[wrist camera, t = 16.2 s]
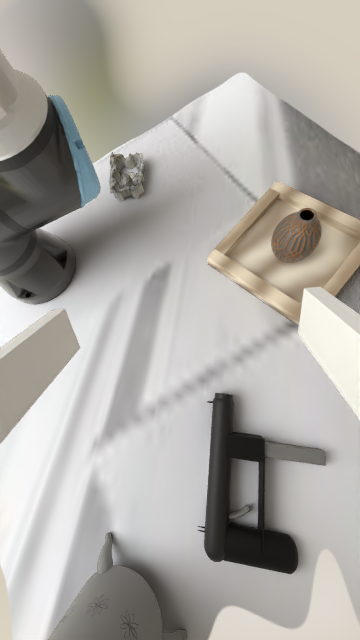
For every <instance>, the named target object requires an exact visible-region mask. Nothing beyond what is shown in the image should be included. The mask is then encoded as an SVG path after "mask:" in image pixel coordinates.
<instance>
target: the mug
mask: <svg viewBox="0 0 360 640" xmlns="http://www.w3.org/2000/svg"><path fill="white" fill-rule="evenodd" d="M48 640H187V633H186V631H185V630H181V629H179V630H176V631H174V632H172V633H164V632H163V626H162V617H161V612H160V608H159V605H158V602H157V599H156V597H155V595H154V593H153V591H152V589H151V587H150V586H149V584H148V583H147V582H146V581H145V579H144V578H143V577H142V576H140V575H139V574H138V573H137V572H135V571H134V570H132V569H130V568H127V567H124V566H113V560H112V537H111V534H110V533H107V534H106V536H105V544H104V546H103V548H102V550H101V552H100V555H99V559H98V564H97V572H96V573H95V574H94V575H93V576H92V577H91V578H90V579H89V580H88V581H87V582H86V584H85V585H84V587H83V588H82V590H81V591H80V593H79V594H78V596H77V597H76V599H75V600H74V602H73V603H72V605H71V606H70V608H69V609H68V611H67V612H66V613H65V615H64V616H63V618H62V619H61V621H60V622H59V624H58V625H57V627H56V628H55V630H54V631H53V633H52V634H51V636H50V637H49V639H48Z"/></svg>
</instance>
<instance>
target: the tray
mask: <svg viewBox="0 0 360 640" xmlns="http://www.w3.org/2000/svg"><path fill="white" fill-rule="evenodd" d="M303 208H311V209H313V210H315V212H316V214H317V218H318V220H319V221H320V224H321V227H322V234H321V239H320V242H319V244H318V246H317V247H316V249H315V250H314V251H313V252H312V253H311V254H310V255H309V256H308V257H307V258H305V259H303V260H301V261H298V262H294V263H288V262H284V261H281V260H280V259H278V258H277V257H276V256H275V255H274V253H273V251H272V247H271V239H272V235H273V232H274V230H275V228H276V226H277V225H278V224H279V222H280V221H281V220H282V219H284V218H285V217H286V216H288V215H290V214H292V213H295V212H298V211H300V210H301V209H303ZM208 265H210V266H211V267H213V268H214V269H216V270H217V271H219V272H220V273H222V274H223V275H224V276H226V277H227V278H229V279H230V280H232V281H233V282H235V283H236V284H238V285H239V286H241V287H242V288H244V289H245V290H246V291H248V292H249V293H251V294H252V295H254V296H255V297H257V298H258V299H260V300H261V301H263V302H264V303H265V304H267V305H268V306H270V307H271V308H273V309H274V310H276V311H277V312H279V313H280V314H282V315H283V316H285V317H286V318H287V319H289V320H290V321H292V322H293V323H295V324H296V325H298V326H299V322H300V314H301V307H302V299H303V292H304V288H311V287H321V288H323V289H324V290H326V291H327V292H328V293H330V294H331V295H333V296H334V297H335V296H336V294H337V293H338V292H339V291H340V289H341V288H342V287H343V286H344V284H345V283H346V282H347V281H348V279H349V278H350V277H351V276H352V274H353V273H354V272H355V271H356V269H357V268H358V267H359V266H360V220H358V219H356V218H354V217H352V216H350V215H347V214H345V213H343V212H341V211H339V210H337V209H335V208H333V207H331V206H329V205H326V204H324V203H322V202H320V201H318V200H316V199H314V198H312V197H310V196H308V195H305V194H303V193H301V192H299V191H297V190H295V189H293V188H291V187H289V186H287V185H284V184H282V183H280V182H278V181H276V182H275V183H274V184H273V185H272V186H271V187H270V189H269V190H268V191H267V192H266V193H265V194H264V195H263V196H262V197H261V198H260V200H259V201H258V202H257V203H256V204H255V205H254V206H253V207H252V208H251V209H250V211H249V212H248V213H247V214H246V215H245V216H244V217H243V218H242V219H241V220H240V222H239V223H238V224H237V225H236V226H235V227H234V228H233V229H232V230H231V231H230V233H229V234H228V235H227V236H226V237H225V238H224V239H223V240H222V241H221V242H220V244H219V245H218V246H217V247H216V248H215V249H214V250H213V251H212V252H211V253H210V255H209V256H208Z"/></svg>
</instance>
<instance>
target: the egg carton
mask: <svg viewBox="0 0 360 640" xmlns="http://www.w3.org/2000/svg"><path fill="white" fill-rule="evenodd" d="M136 164H137V166H136V167H137V170H138V173H136V175H135V174H134V173H132V172H130V173H128V174H124V173H122V175H121V176H120V173H119V171H120V170H121V169H122V167H127V169H133V168H134V167H135V165H136ZM110 166H111V169H110V180H109V182H110V189H111V191H110V193H114V194H115V197H116V198H119V200H120V201H124V200H125V198H126V197H127V196H133V197H134V199H136V198H139V196H140V195H141V194H143V193H144V189H143V186H142V182H144V176H143V173H142V171H143V170H145V166H144V164H143V154H142V153H140V154H139V153H136V154H135V155H131V154H129V157H127V158H124V156H123V155H122V154H113V152H112V153H111V157H110ZM134 177H135V179H136V180H137V183H138V185H136V186H134V183H133V181H132V179H133V178H134ZM120 180H121V182H122V184H123V188H121V189H120V186H119V184H118V182H119V181H120Z"/></svg>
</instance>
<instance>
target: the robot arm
mask: <svg viewBox="0 0 360 640" xmlns="http://www.w3.org/2000/svg"><path fill="white" fill-rule="evenodd" d="M99 193H100V183H99V180H98V177H97V174H96V172H95V169H94V167H93V164H92V162H91V160H90V157H89V155H88V153H87V151H86V148H85V146H84V145H83V142H82V139H81V137H80V135H79V132H78V130H77V127H76V125H75V123H74V121H73V119H72V116H71V114H70V112H69V110H68V108H67V106H66V105H65V102H64V101H63V99H62V98H61V97H60V96H58V95H56V96H51V95H50V96H49V97H47V96H46V94H45V92H44V91H43V89H42V87H41V86H40V85H39V83H38V82H37V81H36V80H35V79H34V78H33V77H31V76H29V75H27V74H25V73H23V72H20V71H17V70H14V69H13V68H12V66H11V65H10V64H9V62H8V61H7V59H6V57H5V56H4V54H3V53H2V51H1V50H0V286H1V287H2V288H3V289H4V290H5V291H6V292H7V293H8V294H9V295H11V296H12V297H14V298H16V299H18V300H20V301H23V302H25V303H29V304H40V303H44V302H47V301H49V300H51V299H53V298H55V297H56V296H58V295H59V294H60V293H61V292H62V291H63V290H64V289H65V288H66V287H67V285H68V284H69V283H70V281H71V279H72V277H73V274H74V271H75V265H76V261H75V256H74V253H73V251H72V249H71V248H70V247H69V246H68V245H67V244H66V243H65V242H64V241H63V240H62V239H60V238H59V237H57V236H55V235H52V234H50V233H48V232H46V231H44V230H41V229H39V228H40V227H42V226H44V225H46V224H48V223H50V222H52V221H54V220H56V219H58V218H60V217H62V216H64V215H66V214H68V213H70V212H73V211H75V210H77V209H79V208H82V207H84V205H85V204H86V203H88V202H90V201H91V200H93V199H95V198H96V197H97V196H98V194H99ZM298 336H299V337H300V338H301V340H302V341H303V342H304V344H305V345H306V347H307V348H308V349H309V351H310V352H311V353H312V355H313V356H314V358H315V359H316V360H317V362H318V363H319V364H320V366H321V367H322V369H323V370H324V371H325V373H326V374H327V376H328V377H329V378H330V380H331V381H332V382H333V384H334V385H335V387H336V388H337V389H338V391H339V392H340V393H341V395H342V396H343V398H344V399H345V400H346V402H347V403H348V404H349V406H350V407H351V409H352V410H353V411H354V413H355V414H356V415H357V417H358V418H359V420H360V315H359V314H358V313H356V312H355V311H354V310H352V309H351V308H349V307H348V306H347V305H345V304H344V303H342V302H341V301H340V300H338V299H337V298H335V297H334V296H333V295H331V294H330V293H328V292H327V291H326V290H324V289H323V288H321V287H311V288H304V292H303V299H302V307H301V314H300V322H299V330H298ZM79 349H80V346H79V343H78V341H77V338H76V336H75V333H74V331H73V328H72V326H71V323H70V321H69V318H68V315H67V313H66V310H65V309H55V310H52V311H50V312H49V313H48V314H46V315H45V316H43V317H42V318H41V319H39V320H38V321H37V322H35V323H34V324H32V325H31V326H30V327H28V328H27V329H25V330H24V331H23V332H21V333H20V334H19V335H17V336H16V337H14V338H13V339H12V340H10V341H9V342H7V343H6V344H5V345H3V346H2V347H1V348H0V444H1V442H2V441H3V440H4V439H5V438H6V436H7V435H8V434H9V433H10V432H11V430H12V429H13V428H14V427H15V426H16V424H17V423H18V422H19V421H20V420H21V418H22V417H23V416H24V415H25V414H26V412H27V411H28V410H29V409H30V408H31V406H32V405H33V404H34V403H35V402H36V400H37V399H38V398H39V397H40V396H41V394H42V393H43V392H44V391H45V390H46V388H47V387H48V386H49V385H50V384H51V382H52V381H53V380H54V379H55V378H56V376H57V375H58V374H59V373H60V372H61V370H62V369H63V368H64V367H65V366H66V364H67V363H68V362H69V361H70V360H71V358H72V357H73V356H74V355H75V354H76V352H77V351H78V350H79Z"/></svg>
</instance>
